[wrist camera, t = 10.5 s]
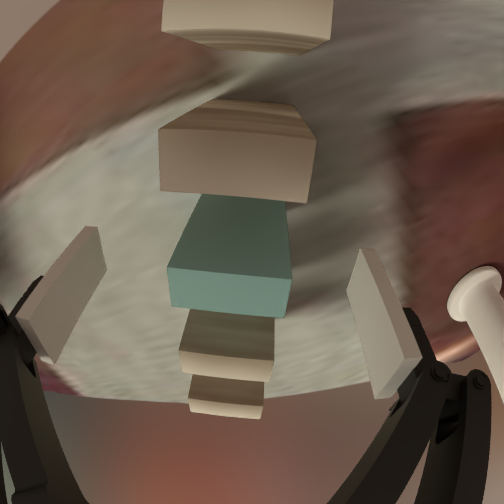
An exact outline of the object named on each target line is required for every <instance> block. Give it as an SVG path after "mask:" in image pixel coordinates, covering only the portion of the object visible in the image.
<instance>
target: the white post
mask: <svg viewBox="0 0 504 504" xmlns="http://www.w3.org/2000/svg"><path fill="white" fill-rule="evenodd" d="M501 285H502V278H501V275H500V273H499V272H498V271H497V269H495V268H494V267H491V266H482V267H479V268H476V269H474V270H472V271H471V272H469V273H468V274H466V275H465V276H464V277H463V278H462V279H461V280H460V281H459V282H458V283H457V284H456V286H455V287H454V288H453V290H452V292H451V294H450V296H449V299H448V303H447V309H448V312H449V314H450V316H451V317H452V318H453V319H454V320H456V321H467V323H468V325H469V327H470V329H471V331H472V333H473V335H474V336H475V339H476V341H477V343H478V345H479V347H480V349H481V351H482V353H483V355H484V357H485V359H486V362H487V364H488V366H489V368H490V371H491V373H492V375H493V378H494V380H495V382H496V385H497V387H498V390H499V392H500V395H501V398H502V400H503V403H504V300H503V298H502V297H501V295H500V294H499V292H500V289H501Z"/></svg>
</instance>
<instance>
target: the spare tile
mask: <svg viewBox="0 0 504 504" xmlns="http://www.w3.org/2000/svg"><path fill="white" fill-rule="evenodd" d="M167 273H168V281H169V290H170V297H171V305H172V306H173V307H181V308H189V309H197V310H205V311H214V312H223V313H233V314H243V315H253V316H265V317H277V318H284V316H285V311H286V306H287V302H288V297H289V292H290V287H291V283H292V272H291V260H290V248H289V237H288V226H287V216H286V206H285V201H280V200H270V199H260V198H249V197H238V196H226V195H214V194H202V195H201V197H200V199H199V201H198V203H197V205H196V207H195V209H194V211H193V213H192V215H191V217H190V219H189V221H188V223H187V225H186V227H185V229H184V231H183V233H182V236H181V238H180V240H179V242H178V244H177V246H176V248H175V250H174V253H173V255H172V257H171V259H170V261H169V264H168V266H167Z"/></svg>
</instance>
